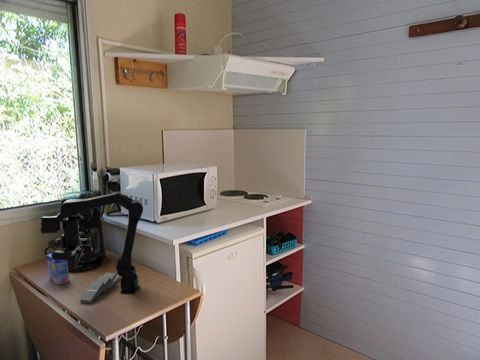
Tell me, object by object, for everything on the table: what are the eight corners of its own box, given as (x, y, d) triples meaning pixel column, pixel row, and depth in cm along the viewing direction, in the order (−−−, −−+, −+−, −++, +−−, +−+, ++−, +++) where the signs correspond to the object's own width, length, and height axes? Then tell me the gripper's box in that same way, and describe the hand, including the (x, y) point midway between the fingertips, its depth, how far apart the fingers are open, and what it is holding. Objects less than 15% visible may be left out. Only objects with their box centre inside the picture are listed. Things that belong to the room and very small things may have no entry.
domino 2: (97, 297, 145) (111, 279, 153) (96, 295, 144) (109, 277, 152) (87, 296, 146) (101, 278, 154) (86, 293, 145) (100, 275, 154)
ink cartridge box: (48, 279, 164) (45, 249, 161) (60, 275, 168) (57, 246, 166) (57, 285, 157) (54, 254, 155) (69, 281, 161) (67, 251, 159)
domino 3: (103, 293, 149) (116, 276, 157) (102, 290, 148) (115, 273, 156) (93, 291, 150) (106, 275, 159) (92, 289, 149) (105, 272, 158)
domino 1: (91, 303, 140) (104, 284, 149) (90, 300, 140) (103, 281, 148) (80, 302, 142) (94, 283, 150) (79, 299, 141) (92, 280, 149)
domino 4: (108, 289, 153) (120, 279, 163) (108, 285, 153) (120, 275, 162) (98, 288, 154) (110, 278, 164) (98, 284, 154) (110, 275, 163)
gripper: (66, 224, 150) (69, 259, 152) (36, 238, 132) (40, 277, 134) (90, 225, 149) (93, 260, 151) (64, 238, 130) (67, 278, 133)
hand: (74, 268), depth 142 cm, fingers closed
